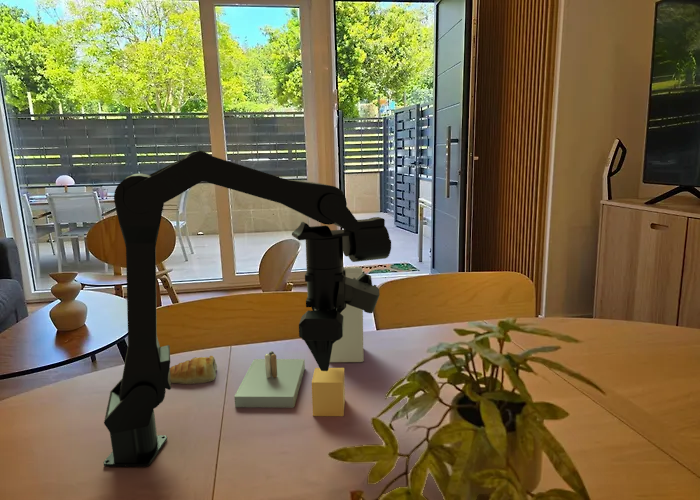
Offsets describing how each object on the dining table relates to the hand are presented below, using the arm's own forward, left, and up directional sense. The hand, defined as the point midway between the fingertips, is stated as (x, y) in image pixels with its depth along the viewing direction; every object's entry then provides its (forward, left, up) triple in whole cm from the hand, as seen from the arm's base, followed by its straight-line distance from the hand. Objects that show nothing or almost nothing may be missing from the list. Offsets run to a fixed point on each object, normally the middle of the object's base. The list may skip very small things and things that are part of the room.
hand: (327, 357), depth 75 cm
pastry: (+11, +27, -10) cm, 30 cm away
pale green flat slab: (+7, +11, -9) cm, 16 cm away
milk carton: (+20, -2, -9) cm, 22 cm away
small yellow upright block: (0, 0, -9) cm, 9 cm away
